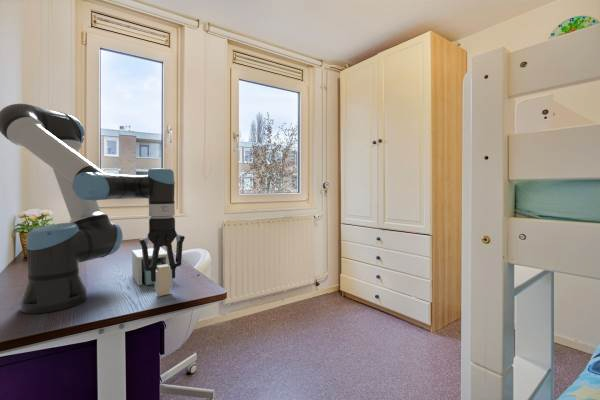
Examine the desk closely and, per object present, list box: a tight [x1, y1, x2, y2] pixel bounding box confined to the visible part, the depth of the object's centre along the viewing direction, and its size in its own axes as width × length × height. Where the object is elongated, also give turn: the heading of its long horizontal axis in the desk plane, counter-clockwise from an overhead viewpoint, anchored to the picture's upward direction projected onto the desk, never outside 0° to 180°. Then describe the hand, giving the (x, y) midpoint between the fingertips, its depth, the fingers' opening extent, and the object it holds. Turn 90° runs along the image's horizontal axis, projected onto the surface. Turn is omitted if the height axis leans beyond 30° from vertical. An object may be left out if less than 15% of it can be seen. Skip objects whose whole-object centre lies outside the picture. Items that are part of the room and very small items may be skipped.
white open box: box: [131, 247, 170, 286], centre depth 113 cm, size 10×15×10 cm
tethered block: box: [142, 262, 171, 297], centre depth 101 cm, size 6×20×9 cm, turn 36°
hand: (163, 289), depth 95 cm, fingers closed on tethered block, 3 cm apart
